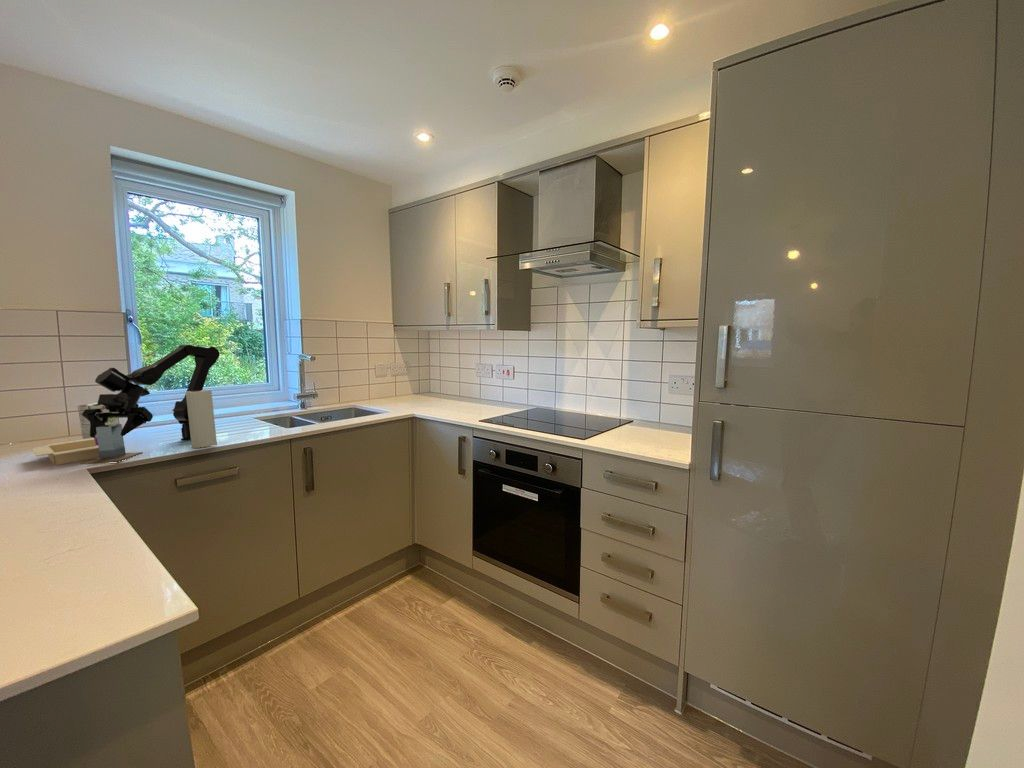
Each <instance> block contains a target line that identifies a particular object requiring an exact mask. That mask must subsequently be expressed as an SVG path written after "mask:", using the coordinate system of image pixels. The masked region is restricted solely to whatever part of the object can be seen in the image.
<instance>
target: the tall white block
mask: <svg viewBox="0 0 1024 768" xmlns="http://www.w3.org/2000/svg"><path fill="white" fill-rule="evenodd" d="M212 393H213V392H212V390H204V389H202V390H193V391H187V390H186V391H185V394H186V399H187V409H188V418H189V427H190V436H191V440H190V444H191V448H192V447H193V449H200V447H201V448H207V447H211V446H212V445H213V446H217V445H218V441H217V431H216V424H215V423H216V421H215V413H214V412H215V411H214V401H213V394H212Z"/></svg>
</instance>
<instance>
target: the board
mask: <svg viewBox="0 0 1024 768" xmlns="http://www.w3.org/2000/svg"><path fill="white" fill-rule="evenodd" d="M125 453H126V455H125V456H122V457H119V458H116V459H102V460H100V457H97V458H94V459H88V460H84V461H82V462H80V465H94V464H95V465H96V464H105V463H106V462H119V461H122V460H125V459H126V460H127V459H128V458H129V459H131V458H134V457H137V456H139V454H140V455H142V454H143V451H139V452H138V451H137V452H136V451H135V452H125ZM136 455H137V456H136ZM133 456H134V457H133ZM130 457H131V458H130Z"/></svg>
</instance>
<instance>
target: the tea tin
mask: <svg viewBox="0 0 1024 768" xmlns="http://www.w3.org/2000/svg"><path fill="white" fill-rule="evenodd" d="M122 429H123V425H122V423H120V424H110V425H104V426H100V427H96V432H97V439H98V445H97V446H98V447H99V456H100V460H102V459H116V458H119V457H122V456H125V455H126V453H127V452H126V447H125V441H124V436H122V435H121V431H122Z"/></svg>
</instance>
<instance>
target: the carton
mask: <svg viewBox="0 0 1024 768" xmlns="http://www.w3.org/2000/svg"><path fill="white" fill-rule="evenodd" d="M31 451H32V452H33V453H34V455H35V456H36V457H43V456H47V457H48V459H49V460H50V461H51V463H52V464H53V466H58V465H64V464H70V463H75V462H81V461H82V462H83V461H88V460H91V459H93V458H97V457H100V456H99V447H98V445H97V446H96V443H95V439H94V438H88V439H83V438H81V439H76V440H68V441H61V442H60V441H59V442H54V443H49V444H45V445H44V446H38V447H32V448H31Z"/></svg>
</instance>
